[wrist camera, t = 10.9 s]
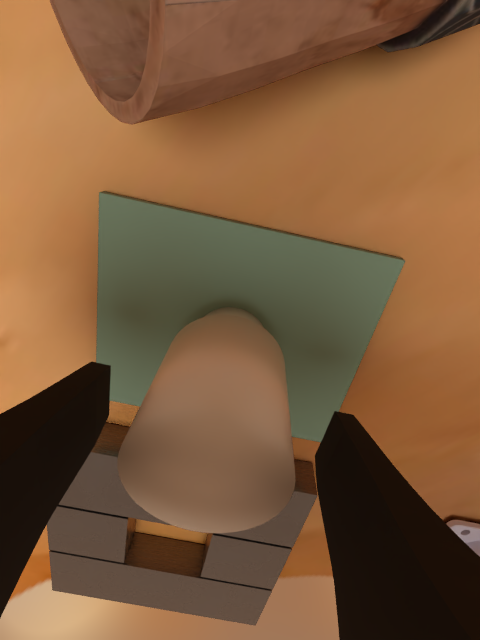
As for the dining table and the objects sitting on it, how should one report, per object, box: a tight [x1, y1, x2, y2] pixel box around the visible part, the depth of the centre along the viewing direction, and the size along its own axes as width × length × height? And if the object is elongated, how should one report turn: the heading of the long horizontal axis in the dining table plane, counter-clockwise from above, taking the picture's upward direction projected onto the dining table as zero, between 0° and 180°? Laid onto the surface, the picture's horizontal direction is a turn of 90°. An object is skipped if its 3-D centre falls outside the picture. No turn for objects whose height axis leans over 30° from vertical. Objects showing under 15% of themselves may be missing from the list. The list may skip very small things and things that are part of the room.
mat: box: [96, 191, 405, 442], centre depth 15 cm, size 12×10×1 cm
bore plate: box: [47, 423, 317, 625], centre depth 21 cm, size 14×14×2 cm
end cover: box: [117, 307, 296, 533], centre depth 12 cm, size 5×5×7 cm
